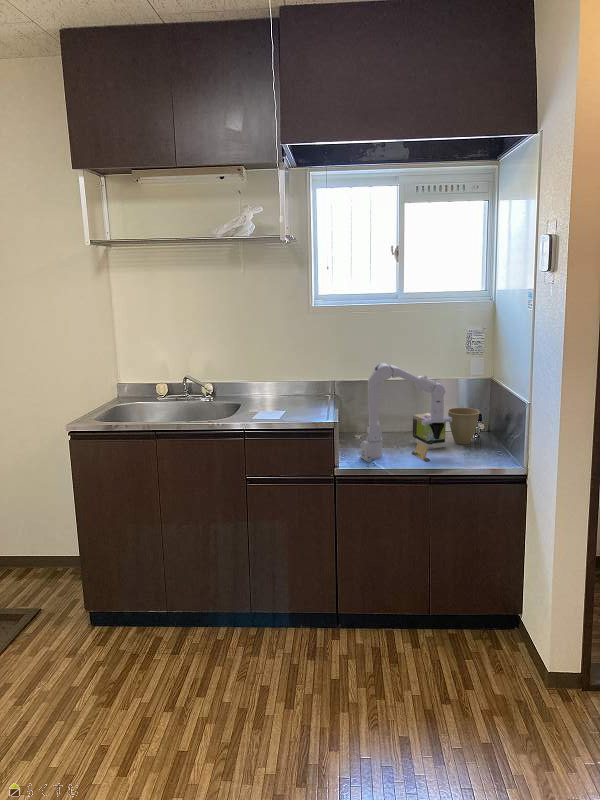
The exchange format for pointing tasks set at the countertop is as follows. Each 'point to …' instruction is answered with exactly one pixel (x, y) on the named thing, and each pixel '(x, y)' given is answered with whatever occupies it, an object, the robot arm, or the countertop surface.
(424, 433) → the tea box
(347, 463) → the countertop surface
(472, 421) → the plant pot
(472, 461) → the countertop surface
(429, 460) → the hinge base
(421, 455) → the tan flat block
